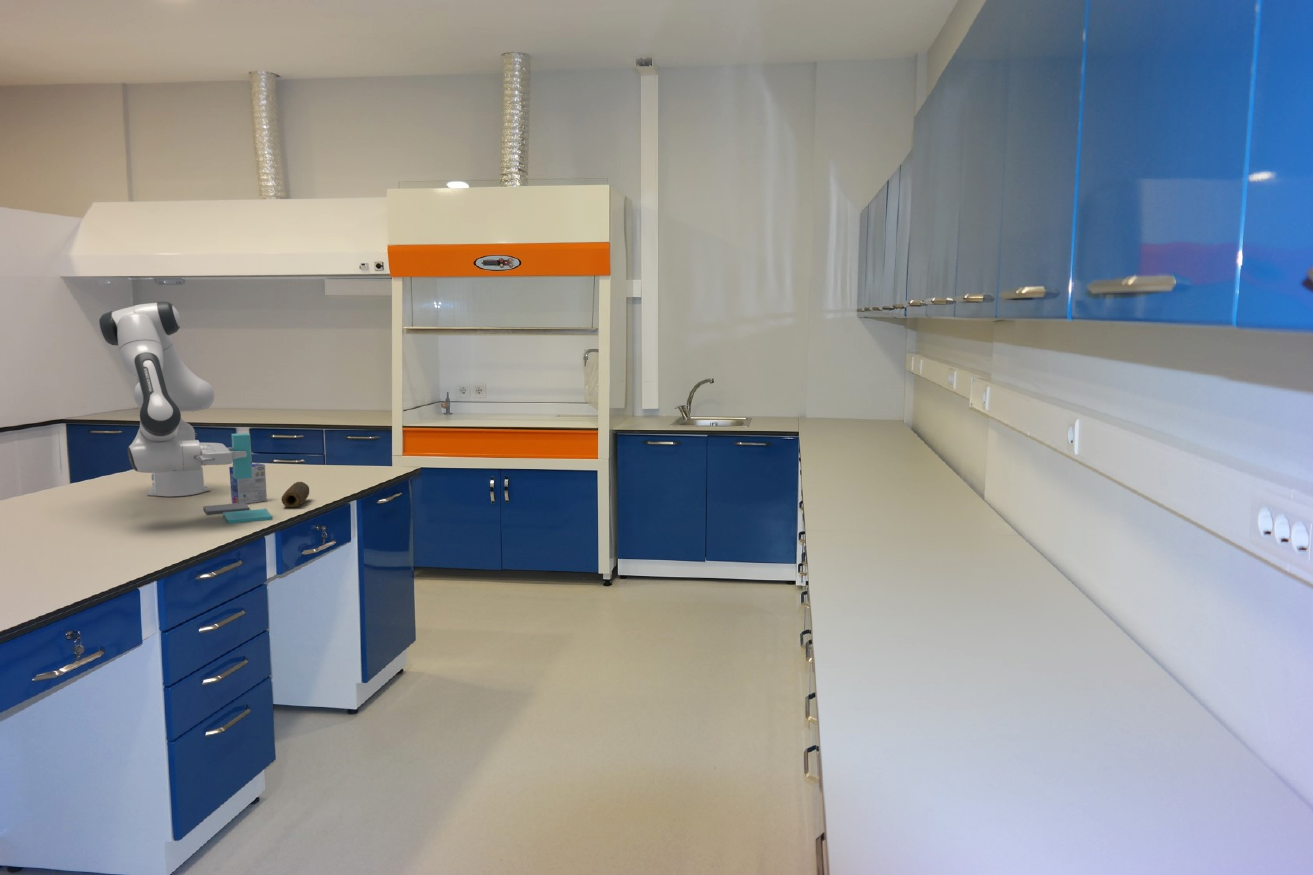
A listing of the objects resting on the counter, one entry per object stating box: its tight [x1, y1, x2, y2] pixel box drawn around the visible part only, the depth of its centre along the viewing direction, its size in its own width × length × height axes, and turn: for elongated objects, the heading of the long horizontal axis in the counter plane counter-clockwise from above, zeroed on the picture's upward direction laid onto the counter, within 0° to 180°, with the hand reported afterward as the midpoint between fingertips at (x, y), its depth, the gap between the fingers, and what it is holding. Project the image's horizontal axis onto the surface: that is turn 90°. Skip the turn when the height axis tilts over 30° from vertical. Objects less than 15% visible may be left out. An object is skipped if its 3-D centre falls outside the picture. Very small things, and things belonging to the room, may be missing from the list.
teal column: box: [231, 432, 252, 479], centre depth 269 cm, size 4×4×13 cm
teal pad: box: [222, 508, 273, 525], centre depth 272 cm, size 12×12×1 cm
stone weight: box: [281, 481, 310, 508], centre depth 292 cm, size 15×7×7 cm, turn 14°
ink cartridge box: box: [228, 460, 268, 505], centre depth 294 cm, size 10×6×14 cm, turn 142°
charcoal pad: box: [203, 503, 251, 516], centre depth 282 cm, size 9×12×1 cm
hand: (244, 452), depth 270 cm, fingers closed on teal column, 4 cm apart
